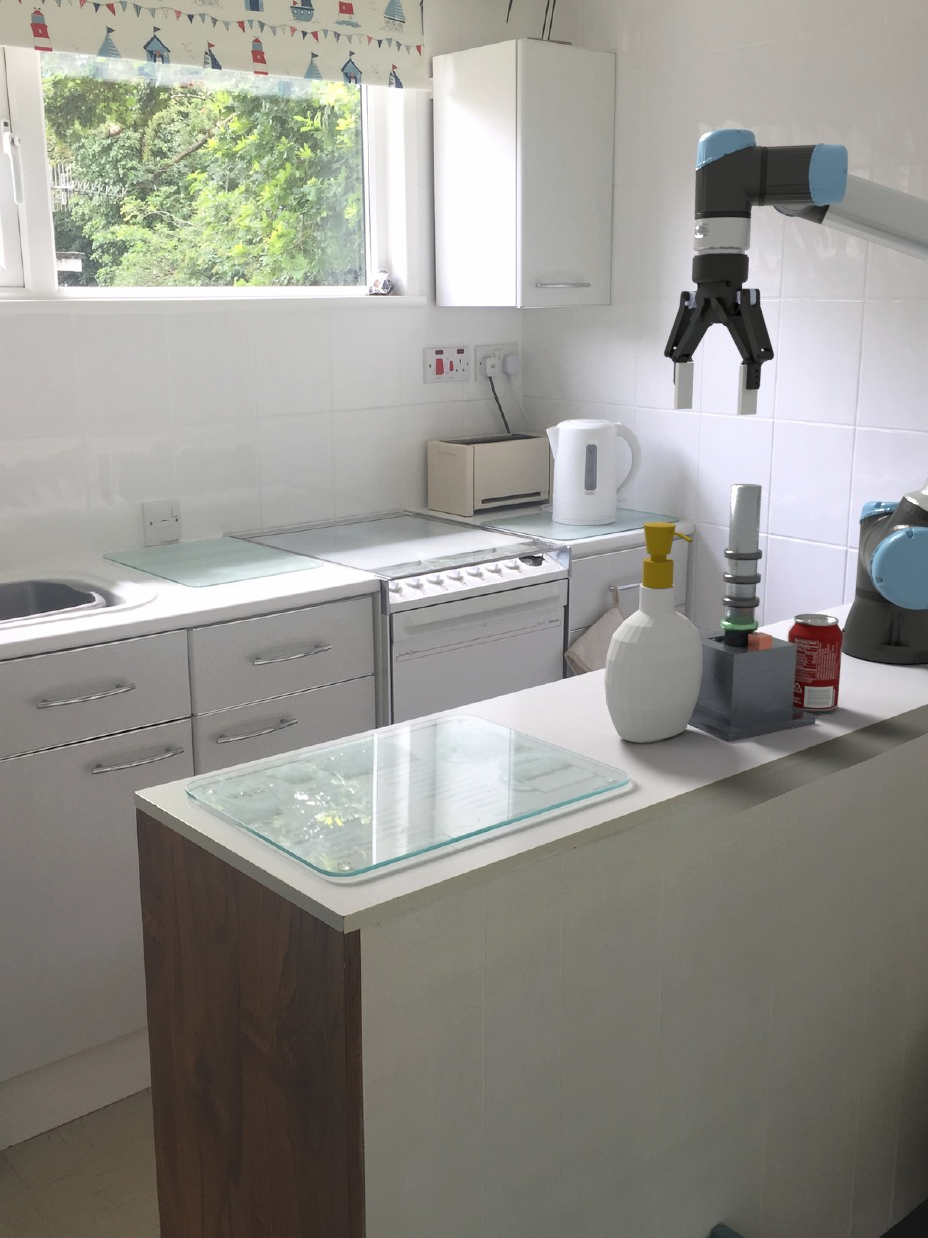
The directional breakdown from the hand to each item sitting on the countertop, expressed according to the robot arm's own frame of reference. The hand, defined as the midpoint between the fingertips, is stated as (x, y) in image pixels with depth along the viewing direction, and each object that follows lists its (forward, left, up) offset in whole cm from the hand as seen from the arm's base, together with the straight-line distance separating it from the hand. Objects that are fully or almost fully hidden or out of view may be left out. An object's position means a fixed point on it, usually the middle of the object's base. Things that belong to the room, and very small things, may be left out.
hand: (713, 411), depth 169 cm
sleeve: (+12, +21, -37) cm, 44 cm away
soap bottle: (+26, +22, -37) cm, 50 cm away
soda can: (+1, +23, -37) cm, 43 cm away
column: (+12, +21, -28) cm, 37 cm away
